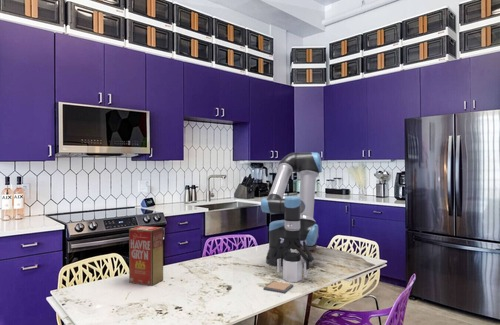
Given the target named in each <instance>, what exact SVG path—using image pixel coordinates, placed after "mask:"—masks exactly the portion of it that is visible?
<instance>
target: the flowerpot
mask: <svg viewBox="0 0 500 325" xmlns="http://www.w3.org/2000/svg"><path fill="white" fill-rule="evenodd" d="M318 239H319V234H318V236H317V240H316V243H315V244H314V245H313V246H308V248H309V250H310V252H311V253H312V252H314V251H315V250H316V249H317V241H318ZM300 246H301V248H302V250H303V251H304V252H305V250H304V247H303V245H300Z"/></svg>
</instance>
